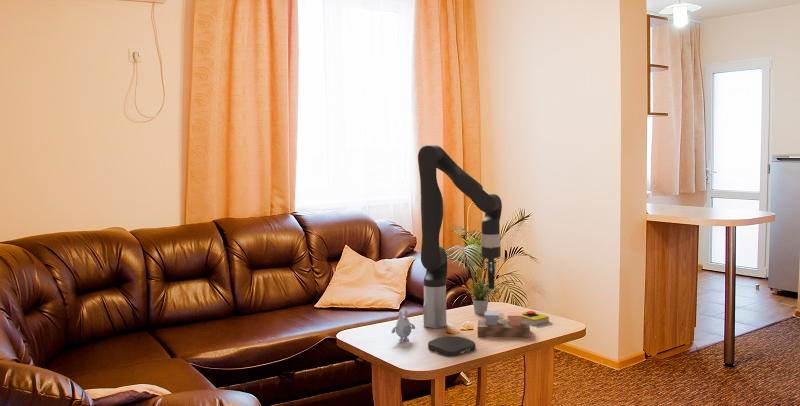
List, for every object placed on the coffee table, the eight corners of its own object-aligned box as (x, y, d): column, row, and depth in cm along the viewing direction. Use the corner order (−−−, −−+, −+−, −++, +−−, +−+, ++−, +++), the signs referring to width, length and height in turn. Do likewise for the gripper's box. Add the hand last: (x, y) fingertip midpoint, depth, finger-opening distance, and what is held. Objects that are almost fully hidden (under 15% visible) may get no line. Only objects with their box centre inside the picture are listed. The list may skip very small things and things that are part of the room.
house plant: (500, 317, 255) (500, 280, 254) (469, 318, 255) (468, 281, 253) (494, 309, 269) (494, 274, 268) (464, 309, 269) (464, 274, 268)
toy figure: (396, 345, 220) (395, 314, 219) (387, 341, 225) (387, 311, 224) (419, 340, 225) (419, 310, 224) (411, 336, 231) (410, 306, 230)
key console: (477, 336, 229) (477, 326, 228) (478, 329, 238) (478, 319, 238) (529, 338, 225) (529, 328, 225) (528, 330, 235) (528, 320, 235)
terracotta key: (507, 326, 229) (507, 315, 228) (507, 322, 234) (507, 311, 234) (522, 326, 228) (522, 315, 227) (521, 322, 233) (521, 312, 233)
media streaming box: (452, 340, 226) (452, 333, 225) (480, 349, 214) (480, 341, 214) (423, 349, 217) (423, 341, 216) (451, 359, 205) (451, 351, 205)
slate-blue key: (484, 325, 230) (484, 315, 230) (484, 321, 236) (484, 311, 235) (499, 326, 229) (498, 315, 229) (499, 322, 235) (498, 311, 234)
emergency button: (527, 307, 256) (554, 314, 244) (527, 317, 257) (554, 324, 244) (512, 310, 251) (538, 318, 239) (512, 320, 252) (538, 328, 239)
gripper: (481, 242, 237) (482, 284, 238) (480, 247, 224) (481, 292, 225) (500, 242, 236) (500, 285, 237) (500, 247, 223) (501, 292, 224)
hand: (491, 288), depth 231 cm, fingers closed
